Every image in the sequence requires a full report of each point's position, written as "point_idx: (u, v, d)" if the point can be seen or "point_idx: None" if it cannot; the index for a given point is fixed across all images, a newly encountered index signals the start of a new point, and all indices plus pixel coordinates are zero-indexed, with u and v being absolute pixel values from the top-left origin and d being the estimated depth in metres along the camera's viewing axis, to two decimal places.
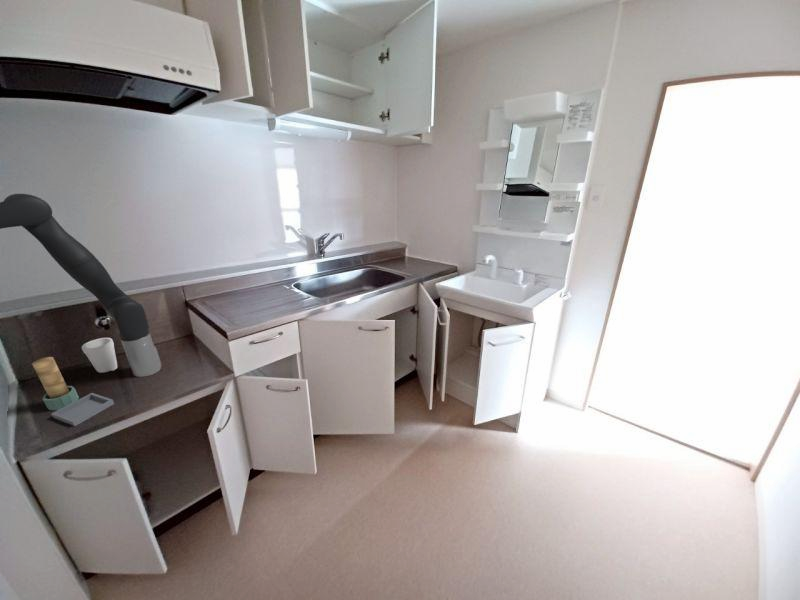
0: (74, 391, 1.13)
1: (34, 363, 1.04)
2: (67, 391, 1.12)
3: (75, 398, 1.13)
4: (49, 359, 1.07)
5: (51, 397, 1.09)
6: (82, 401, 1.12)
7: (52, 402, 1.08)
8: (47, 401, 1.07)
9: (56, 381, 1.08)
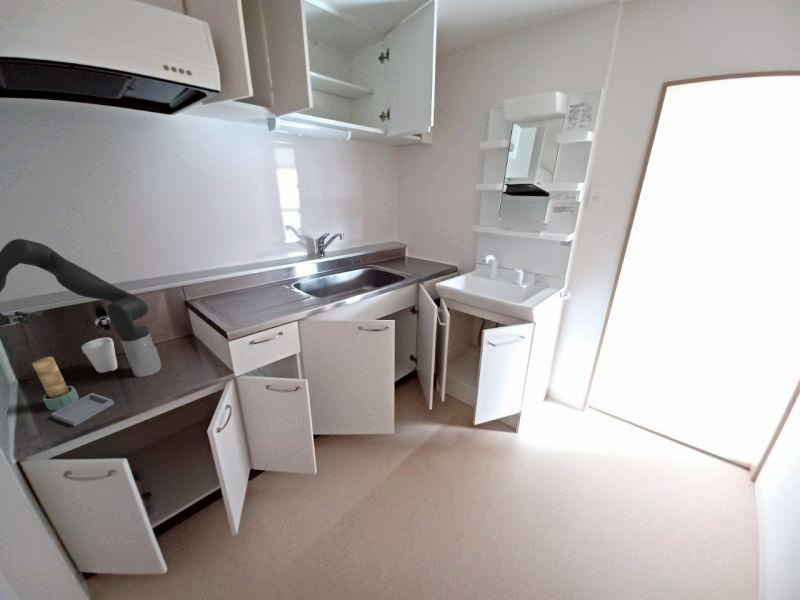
0: (74, 391, 1.13)
1: (34, 363, 1.04)
2: (67, 391, 1.12)
3: (75, 398, 1.13)
4: (49, 359, 1.07)
5: (51, 397, 1.09)
6: (82, 401, 1.12)
7: (52, 402, 1.08)
8: (47, 401, 1.07)
9: (56, 381, 1.08)
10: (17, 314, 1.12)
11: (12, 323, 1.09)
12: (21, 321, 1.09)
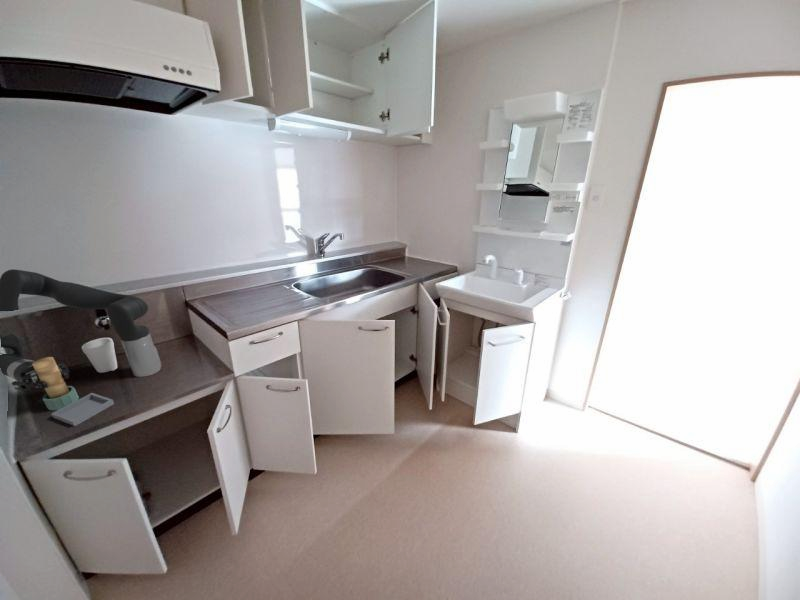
0: (74, 391, 1.13)
1: (34, 363, 1.04)
2: (67, 391, 1.12)
3: (75, 398, 1.13)
4: (49, 359, 1.07)
5: (51, 397, 1.09)
6: (82, 401, 1.12)
7: (52, 402, 1.08)
8: (47, 401, 1.07)
9: (56, 381, 1.08)
10: (60, 366, 1.15)
11: None
12: None
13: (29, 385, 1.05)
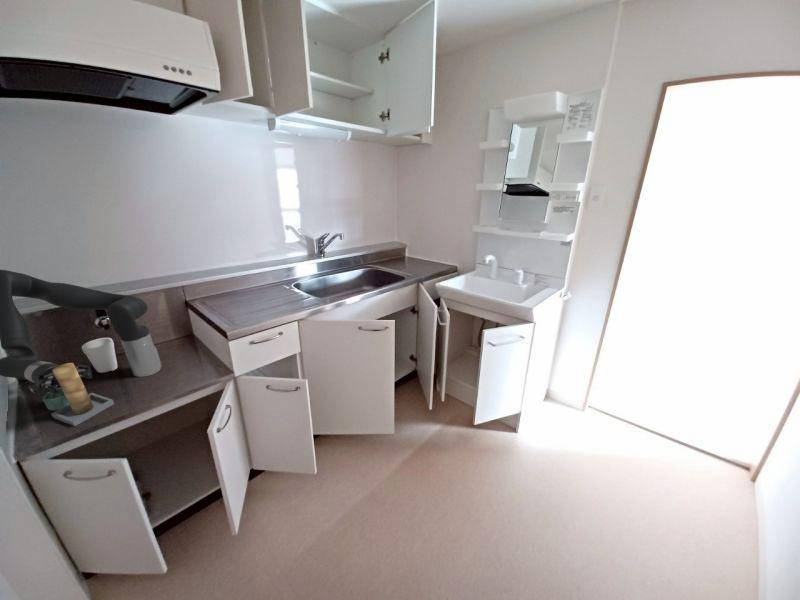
0: None
1: (54, 369, 1.01)
2: (88, 398, 1.08)
3: None
4: (69, 365, 1.03)
5: (72, 404, 1.05)
6: None
7: (52, 402, 1.08)
8: (47, 401, 1.07)
9: (76, 388, 1.04)
10: (79, 367, 1.11)
11: None
12: (85, 375, 1.08)
13: (41, 391, 0.99)
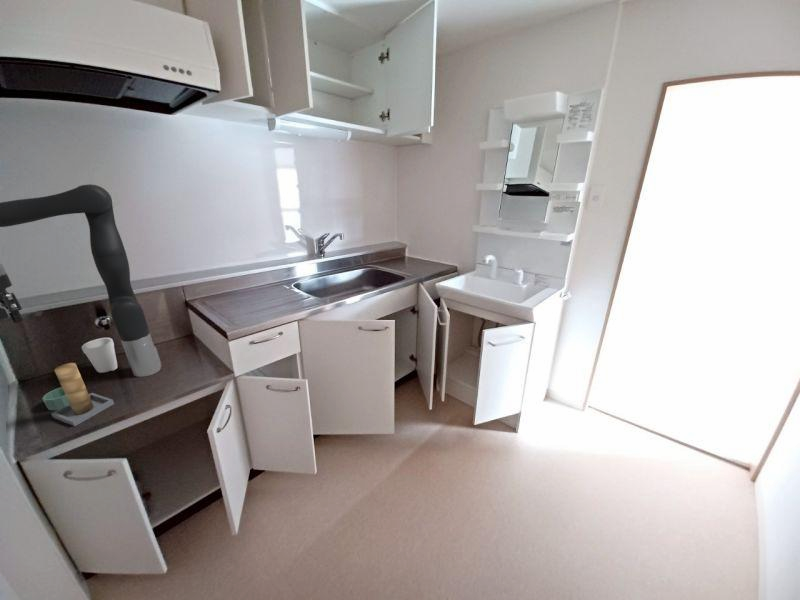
0: None
1: (56, 369, 1.01)
2: (88, 398, 1.08)
3: None
4: (71, 365, 1.03)
5: (72, 404, 1.05)
6: None
7: (52, 402, 1.08)
8: (47, 401, 1.07)
9: (77, 388, 1.04)
10: None
11: None
12: (0, 313, 1.05)
13: (17, 310, 1.01)
